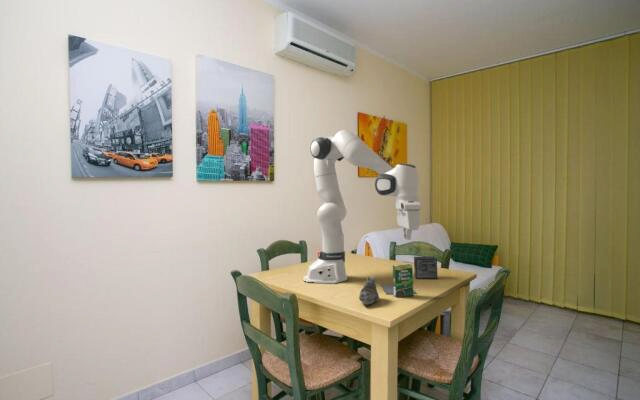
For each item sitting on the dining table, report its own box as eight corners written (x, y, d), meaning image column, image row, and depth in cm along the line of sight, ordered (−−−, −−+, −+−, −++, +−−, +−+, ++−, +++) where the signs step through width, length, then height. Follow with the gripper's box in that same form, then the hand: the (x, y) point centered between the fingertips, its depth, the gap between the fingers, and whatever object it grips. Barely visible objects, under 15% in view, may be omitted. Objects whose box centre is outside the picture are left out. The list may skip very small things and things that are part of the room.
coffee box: (395, 297, 142) (394, 266, 141) (392, 295, 145) (392, 264, 144) (413, 296, 143) (413, 265, 143) (410, 294, 146) (410, 263, 145)
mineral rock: (364, 309, 129) (364, 282, 128) (346, 301, 137) (345, 277, 137) (388, 302, 136) (388, 277, 136) (369, 295, 145) (369, 272, 145)
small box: (434, 276, 177) (434, 256, 176) (437, 279, 170) (437, 258, 170) (413, 276, 178) (413, 255, 177) (416, 279, 171) (416, 258, 171)
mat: (386, 294, 146) (386, 293, 146) (380, 285, 160) (380, 284, 160) (416, 293, 146) (416, 293, 146) (408, 285, 160) (408, 284, 160)
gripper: (393, 203, 146) (393, 235, 146) (405, 205, 125) (405, 242, 126) (408, 203, 146) (408, 235, 146) (422, 205, 125) (422, 242, 126)
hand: (407, 239), depth 136 cm, fingers closed
